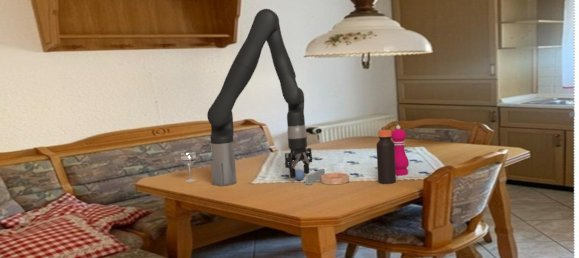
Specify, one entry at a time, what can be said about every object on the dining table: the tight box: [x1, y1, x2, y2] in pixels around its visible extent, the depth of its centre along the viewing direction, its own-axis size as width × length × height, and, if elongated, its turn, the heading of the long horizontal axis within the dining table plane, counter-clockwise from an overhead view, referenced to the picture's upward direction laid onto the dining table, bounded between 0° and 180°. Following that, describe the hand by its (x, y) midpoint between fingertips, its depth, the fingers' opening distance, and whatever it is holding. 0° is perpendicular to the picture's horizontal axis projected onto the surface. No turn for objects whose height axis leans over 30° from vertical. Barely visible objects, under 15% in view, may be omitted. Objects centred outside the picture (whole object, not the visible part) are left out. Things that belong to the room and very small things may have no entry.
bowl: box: [320, 172, 350, 186], centre depth 226 cm, size 11×11×2 cm
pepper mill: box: [391, 124, 410, 176], centre depth 231 cm, size 7×7×20 cm
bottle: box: [376, 129, 397, 185], centre depth 218 cm, size 7×7×20 cm
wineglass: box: [180, 151, 197, 183], centre depth 246 cm, size 7×7×12 cm
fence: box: [303, 168, 326, 186], centre depth 229 cm, size 14×3×4 cm, turn 149°
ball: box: [294, 169, 306, 181], centre depth 233 cm, size 4×4×4 cm
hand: (300, 175), depth 233 cm, fingers open, 8 cm apart
